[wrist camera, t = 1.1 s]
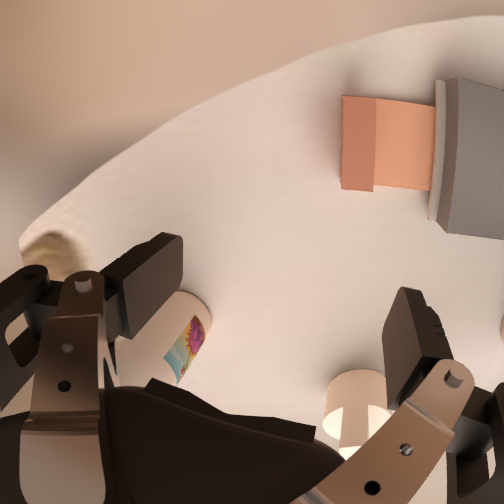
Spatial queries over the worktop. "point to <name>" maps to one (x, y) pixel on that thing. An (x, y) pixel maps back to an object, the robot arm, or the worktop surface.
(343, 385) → the base with upright slab
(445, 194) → the grey square block
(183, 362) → the milk bottle
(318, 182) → the worktop surface
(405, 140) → the peach l-shaped block
